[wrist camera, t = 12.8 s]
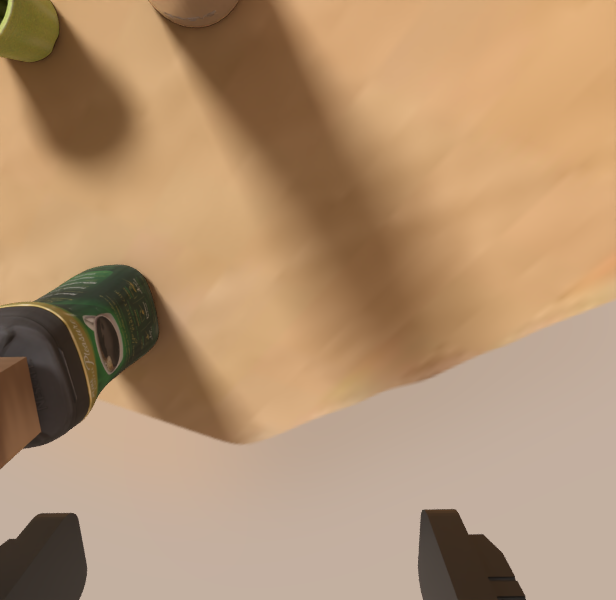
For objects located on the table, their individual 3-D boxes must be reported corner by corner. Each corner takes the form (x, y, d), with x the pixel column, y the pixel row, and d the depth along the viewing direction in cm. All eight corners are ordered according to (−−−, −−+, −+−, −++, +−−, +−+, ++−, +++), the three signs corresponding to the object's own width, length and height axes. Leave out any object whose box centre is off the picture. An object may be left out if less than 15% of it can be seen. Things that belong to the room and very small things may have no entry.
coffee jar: (69, 269, 43) (-102, 329, 25) (146, 258, 43) (29, 310, 25) (95, 358, 46) (-44, 471, 28) (168, 349, 45) (76, 456, 27)
